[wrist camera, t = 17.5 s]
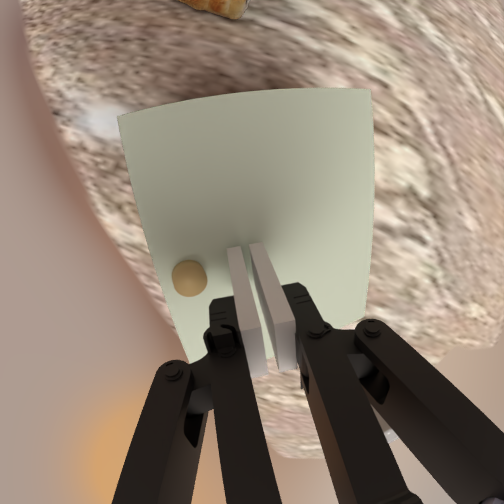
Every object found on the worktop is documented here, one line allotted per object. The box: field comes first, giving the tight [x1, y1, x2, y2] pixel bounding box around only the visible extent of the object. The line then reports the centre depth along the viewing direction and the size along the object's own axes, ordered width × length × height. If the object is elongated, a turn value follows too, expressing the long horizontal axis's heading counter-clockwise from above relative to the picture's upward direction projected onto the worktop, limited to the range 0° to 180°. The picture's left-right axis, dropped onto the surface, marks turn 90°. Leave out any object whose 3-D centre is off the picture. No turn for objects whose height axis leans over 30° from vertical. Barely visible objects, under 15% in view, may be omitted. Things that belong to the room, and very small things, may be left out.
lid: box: [117, 88, 374, 364], centre depth 17 cm, size 18×14×2 cm
